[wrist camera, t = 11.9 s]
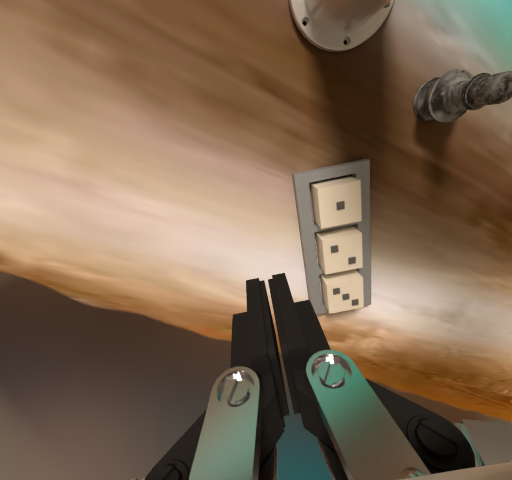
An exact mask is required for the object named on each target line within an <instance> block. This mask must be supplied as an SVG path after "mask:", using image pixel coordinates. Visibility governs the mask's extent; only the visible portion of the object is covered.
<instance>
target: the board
mask: <svg viewBox="0 0 512 480" xmlns="http://www.w3.org/2000/svg"><path fill="white" fill-rule="evenodd" d="M349 174H352V177H354V178H356V179H359V180H361V215H362V221H358V222H354V223H349V224H344V225H339V226H334V227H329V228H324V229H321V228H320V227H319V226H318V224H317V223H313V217H312V207H311V198H310V189H309V183H310V182H315V181H320V180H325V179H330V178H335V177H339V176H344V175H349ZM292 177H293V184H294V192H295V199H296V207H297V214H298V222H299V229H300V237H301V245H302V252H303V260H304V267H305V275H306V282H307V290H308V297H309V300H310V302H311V304H312V306H313V308H314V311H315V313H316V315H318V314H324V313H329V312H328V310H327V308H326V306H325V304H324V302H322V300H321V291H320V282H319V275H321V274H325V273H324V271H323V270H322V268H321V266H320V265H318V263H317V254H316V244H315V235H314V232H319V231H324V230H329V229H334V228H339V227H344V226H349V225H354V227H355V228H356V229H357V230H359V231H360V232H361V233H362V259H363V267H362V268H357V269H356V270H357V271H358V273H359V274H360V275H361V276H362V277H363V295H364V306H365V305H370V304H371V240H370V160H369V159H361V160H356V161H351V162H347V163H342V164H337V165H332V166H327V167H322V168H318V169H313V170H308V171H303V172H298V173H293V174H292Z"/></svg>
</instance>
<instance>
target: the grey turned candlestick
mask: <svg viewBox="0 0 512 480" xmlns="http://www.w3.org/2000/svg"><path fill="white" fill-rule="evenodd" d="M511 97H512V71H507V72H502V73H498V74H493V75H491V74H488V73H481V74H478V75H476V76H474V77H473V76H472V74H471V73H470V72H468V71H467V70H464V69H454V70H451V71H448V72H447V73H445V74H444V75H442V76H441V77H437V78H432V79H429V80H428V81H426V82H425V83H423V85H422V86H421V87H420V88H419V89H418V91H417V92H416V95H415V97H414V102H413V109H414V112H415V114H416V116H417V117H418V118H419V119H421V120H423V121H432V120H437V121H439V122H451V121H454V120H456V119H458V118H459V117H461V116H462V115H463V114H464V113H465V112H466V111H467V110H477V109H480V108H482V107H483V106H485V105H492V104H500V103H503V102H506V101H507V100H509V99H510V98H511Z"/></svg>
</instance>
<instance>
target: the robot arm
mask: <svg viewBox="0 0 512 480" xmlns="http://www.w3.org/2000/svg"><path fill="white" fill-rule="evenodd" d="M393 2H394V0H289V6H290V9H291V13H292V17H293V19H294V21H295V23H296V26H297V28H298V29H299V31H300V32H301V34H302V35H303V36H304V37H305V38H306V39H307V40H308V41H309V42H310V43H311V44H312V45H314V46H316V47H317V48H319V49H322V50H325V51H328V52H342V51H347V50H350V49H352V48H355V47H357V46H358V45H360V44H362V43H363V42H365V41H366V40H367V39H368V38H370V37H371V36H372V35H373V34H374V33H375V32H376V31H377V30H378V28H379V27H380V26H381V25H382V23H383V22H384V20H385V19H386V17H387V15H388V13H389V11H390V9H391V7H392V5H393ZM303 22H305V23H306V26H304V25H303V24H302V23H303ZM343 41H345V42H346V45H344V43H343ZM272 277H273V279H269V280H268V282H269V288H270V293H271V299H272V304H273V309H274V315H275V320H276V325H277V331H278V336H279V342H280V347H281V352H282V357H283V362H284V367H285V371H286V376H287V381H288V386H289V391H290V395H291V400H292V405H293V410H294V414H297V413H301V417H302V422H303V425H304V428H305V429H307V430H308V431H309V432H311V433H312V434H313V435H315V436H316V437H317V440H318V443H319V446H320V448H321V451H322V454H323V456H324V459H325V461H326V464H327V466H328V469H329V472H330V474H331V477H332V480H512V423H507V422H493V421H478V420H463V419H462V420H461V423H451V422H450V421H448V420H446V419H445V418H443V417H441V416H440V415H438V414H436V413H434V412H432V411H430V410H428V409H425V408H423V407H422V406H420V405H418V404H416V403H413V402H412V401H410V400H407V399H405V398H403V397H401V396H399V395H397V394H395V393H393V392H391V391H389V390H387V389H385V388H383V387H381V386H379V385H377V384H375V383H373V382H371V381H369V380H367V379H365V378H364V376H363V375H362V374H361V372H360V371H359V369H358V368H357V366H356V365H355V363H354V362H353V361H352V360H351V359H350V358H349V357H348V356H347V355H345V354H343V353H342V352H338V351H335V350H331V349H330V347H329V345H328V342H327V340H326V337H325V335H324V333H323V330H322V328H321V325H320V323H319V321H318V318H317V316H316V313H315V311H314V308H313V306H312V304H311V302H310V300H305V301H300V302H295V303H294V301H293V298H292V295H291V292H290V289H289V285H288V282H287V279H286V276H285V273H282V274H277V275H272ZM246 293H247V312H244V313H238V314H234V315H233V322H232V344H231V368H230V369H229V370H226V371H225V372H224V373H222V374H221V375H220V376H219V377H218V379H217V380H216V382H215V383H214V386H213V388H212V392H211V396H210V400H209V403H208V407H207V410H206V411H205V412H204V413H203V414H202V415H201V416H200V417H199V418H198V420H196V422H195V423H194V424H193V425H192V426H191V427H190V428H189V429H188V430H187V431H186V432H185V434H184V435H183V436H182V437H181V438H180V439H179V440H178V441H177V442H176V443H175V444H174V445H173V447H172V448H171V449H170V450H169V451H168V452H167V453H166V454H165V455H164V456H163V457H162V459H161V460H160V461H159V462H158V463H157V464H156V465H155V466H154V467H153V468H152V470H151V471H150V472H149V474H148V475H147V476H146V478H144V479H142V480H277V445H276V443H277V442H278V440H279V438H280V437H281V435H282V434H283V432H284V427H285V423H284V416H286V415H289V410H288V404H287V398H286V392H285V387H284V381H283V375H282V369H281V363H280V358H279V352H278V346H277V340H276V334H275V329H274V325H273V320H272V315H271V310H270V306H269V301H268V296H267V292H266V287H265V282H264V281H259V278H256V279H251V280H246ZM132 480H137V478H135V479H132Z"/></svg>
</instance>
